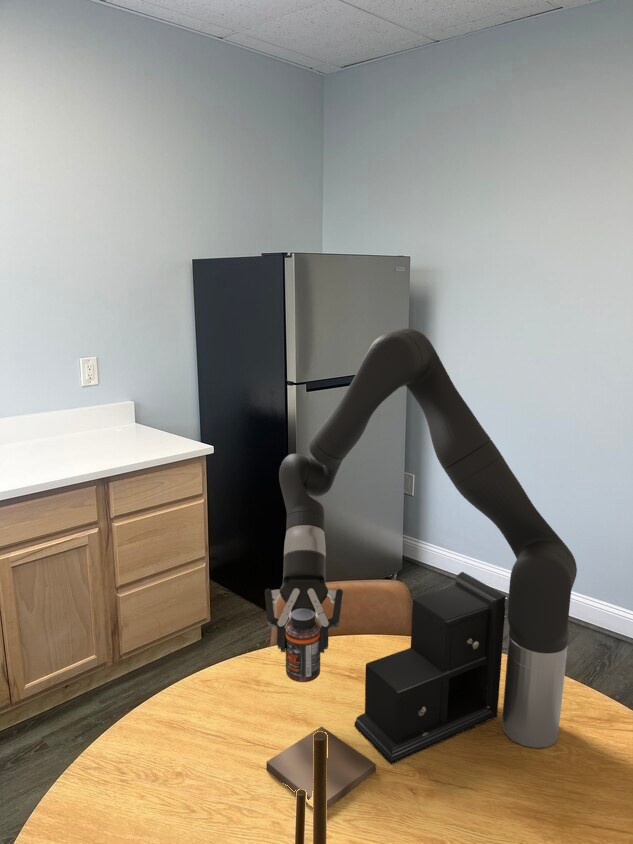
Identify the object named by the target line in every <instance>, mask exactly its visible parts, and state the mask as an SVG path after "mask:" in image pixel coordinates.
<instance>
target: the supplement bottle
mask: <svg viewBox="0 0 633 844" xmlns="http://www.w3.org/2000/svg"><path fill="white" fill-rule="evenodd" d="M315 617H316V615H315V613H314V612H313V611H312V610H309V609H297V610H295V611H293V612H292V613H291V619H290V621H289V622H288V623H287V625H286V630H285V640H286V641H285V642H286V650H285V673H286V676H287V677H288V679H290V680H291V681H294V682H297V683H309V682H313V681H314V680H316V679H317V678H318V677H319V676H320V673H321V653H320V628H321V625H320V624H319V622H317V621H316V618H315Z"/></svg>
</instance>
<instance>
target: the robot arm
mask: <svg viewBox="0 0 633 844" xmlns="http://www.w3.org/2000/svg"><path fill="white" fill-rule="evenodd" d="M402 387H406V388H407V389H408V391H409V392H410V393H411V394H412V396H413V397H414V399H415V400H416V402H417V403H418V405H419V406H420V408H421V410H422V412H423V414H424V417H425V420H426V423H427V426H428V430H429V435H430V439H431V443H432V446H433V450H434V453H435V455H436V458H437V460H438V462H439V464H440V466H441V468H442V469H443V471H444V472H445V474H446V475H447V476H448V478H449V480H450V481H451V482H452V484H453V485H454V487H455V489H456V490H457V491H458V492H459V494H460V495H461V496H462V497H463V498H464V499H466V501H467V502H468V503H469V504H471V506H473V507H474V508H475V509H477V510H478V511H479V512H480V513H482V514H483V515H484V516H485V517H486V518H488V519H489V520H490V521H491V522H492V523H493V524H494V525H495V527H496V528H497V529H498V530H499V531H500V533H501V534H502V536H503V537H504V539H505V540H506V542H507V544H508V545H509V547H510V549H511V550H512V553H513V554H514V556H515V558H516V561H515V562H514V564H513V566H512V568H511V572H510V578H509V586H508V587H509V588H508V601H507V602H508V603H507V606H508V607H507V621H508V625H509V626H508V627H509V629H508V639H507V640H508V641H507V651H506V652H507V653H506V654H507V655H506V668H505V678H504V679H505V680H504V687H503V688H504V689H503V690H504V691H503V702H502V715H501V728H502V730H503V732H504V733H505V735H506V736H507V737H508V738H509V739H510V740H512V741H513V742H515V743H517V744H519V745H522V746H524V747H529V748H534V749H541V748H547V747H551V746H552V745H554V744H555V743H557V741H558V739H559V730H560V722H561V714H562V713H561V712H562V702H563V693H564V684H565V676H566V675H565V674H566V665H567V653H568V644H569V634H570V629H569V615H570V605H571V595H572V589H573V587H574V585H575V582H576V578H577V574H578V573H577V572H578V568H577V562H576V559H575V557H574V555H573V553H572V551H571V550H570V549H569V547H568V546H567V545H566V544H565V542H564V541H563V540H562V539H561V537H560V536H559V535H558V534H557V533H556V531H555V530H554V529H553V528H552V526H551V525H550V524H549V523H548V522H547V520H546V519H545V518H544V517H543V516H542V514H541V513H540V512H539V511H538V509H537V507H535V505H534V504H533V502H532V500H531V499H530V498H529V496H528V494H527V493H526V491H525V489H524V488H523V486H522V484H521V483H520V481H519V479H518V478H517V477H516V475H515V474H514V473H513V471H512V469H511V468H510V466H509V464H508V463H507V461H506V460H505V458H504V456H503V455H502V453H501V452H500V450H499V449H498V448H497V446H496V444H495V443H494V441H493V440H492V438H491V437H490V436H489V435H488V433H487V432H486V430H485V429H484V428H483V426H482V424H481V423H480V422H479V420H478V419H477V417H476V415H475V414H474V413H473V411H472V409H471V408H470V407H469V405H468V404H467V403H466V401H465V400H464V398H463V396H462V395H461V394H460V392H459V391H458V389H457V388H456V386H455V384H454V383H453V381H452V378H451V377H450V376H449V374H448V372H447V369H446V368H445V365H444V364H443V362H442V360H441V358H440V357H439V354H438V353H437V351H436V349H435V347H434V345H433V344H432V343H431V341H430V340H429V339H428V337H427V336H426V335H424V333H422V332H420V331H419V330H417V329H414V328H401V329H397V330H394V331H392V332H387V333H385V334H382V335H380V336H378V338H376V339H375V340H374V341H373V342H372V343H371V345H370V347H369V348H368V350H367V352H366V353H365V356H364V357H363V360H362V361H361V363H360V366H359V367H358V369H357V372H356V373H355V375H354V377H353V379H352V381H351V383H350V384H349V386H348V387H347V390H346V391H345V393H344V394H343V396H342V398H341V399H340V401H339V402H338V404H337V405H336V406H335V408H334V409H333V410H332V412H331V413H330V414H329V416H327V418H326V420H325V421H324V422H323V424H322V425H321V426H320V427H319V428H318V430H317V431H316V433H314V435H313V436H312V438H311V440H310V441H309V445H308V447H309V453H310V454H311V456H312V457H313V458H312V457H309V456H306V455H303V454H300V453H290V454H288V455H287V456H286V457H284V459H283V460H282V462H281V465H280V466H279V472H278V478H279V479H278V480H279V486H280V489H281V494H282V497H283V502H284V506H285V509H286V528H285V538H284V546H283V548H284V549H283V572H282V577H283V578H282V584H281V586H280V588H279V589H271V588H265V589H264V600H265V611H266V612H265V613H266V621H267V625H268V626H269V627H270V628H271V627H273V628H275V629H277V635H276V645H277V649H278V650H279V649H280V652H281V653H286V642H285V641H286V640H285V630H286V626H287V625H288V623H289V622H290V621H291V613H292V612H293V611H295V610H297V609H309V610H312V611H313V612H314V614H315V617H316V619H317V621H318V624H319V626H320V654H325V650H328V648H329V631H330V629H332V628H333V629H334V628H337V627H339V625H340V620H341V619H340V618H341V612H342V604H343V598H344V591H343V590H342V589H341V588H338V589H337V590H334V589H329V588H328V587H327V585H326V584H327V583H326V557H327V551H326V539H325V538H326V537H325V508H324V506H323V505H322V503H320V502H319V501H317V500H316V499H314V498H313V497H322V496H324V495H326V494H327V493H329V491H330V490H331V488H332V487H333V485H334V482H335V478H336V475H337V474H338V472H339V470H340V467H341V464H342V462H343V460H344V459H345V458H346V457H347V456H348V454H349V452H351V450H353V448H354V447H355V445H356V444H357V443H358V442H359V441H360V439H361V437H362V436H363V434H364V432H365V431H366V428H367V426H368V423H369V421H370V419H371V418H372V416H373V414H374V412H375V411H376V410H377V409H378V407H380V406H381V404H382V403H383V402H384V401H385V400H387V399H388V398H389V397H390V396H391V395H392V394H393V393H395V392H396V391H398V389H399V388H402ZM279 597H281V599H282V600H283V602H284V603H285V605H284V607H283V609H282V613H281V615H280V616H279V617H278V618H277V617H275V608H274V604H276V603H277V602H278V598H279ZM328 597H329V600H330V603H332V604H333V610H332V617H330V618H328V617H327V616H326V614H325V612H324V608H323V607H322V604H323V603H324V602H325V600H326V599H327V598H328Z"/></svg>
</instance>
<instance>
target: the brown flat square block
mask: <svg viewBox="0 0 633 844" xmlns="http://www.w3.org/2000/svg"><path fill="white" fill-rule="evenodd" d="M317 731H323V732H326V733H327V735H328V758H327V810H329V809H330V808H331V807H333V806H334V805H335V804H337V803H339V801H340V800H342V799H343V798H344V797H346V796H347V795H348V794H349V793H351V792H352V791H353V790H355V789H356V788H357V787H359V786H360V785H361V784H363V783H364V782H365V781H366V780H369V778H370V777H372V776H373V775H375V773H376V771H377V763H375V762H374V761H372V760H371V759H370V758H368V757H367V756H366V755H364V754H362V752H359V750H357V749H355V748H354V747H352V746H351V745H349V744H348V743H346V742H345V741H343V740H342V739H341V738H339V737H338V736H336V735H335V734H333V733H332V732H330V731H329V730H327V729H326V728H325V727H323V726H320V727H319V728H317V729H315V730H314V731H312V732H311V733H309V734H307V735H305V737H303V738H301V739H300V740H298V741H297V742H294V744H292V745H290V746H289V747H288V748H285V749H284V750H283V751H280V753H278V754H276V755H275V756H273V757H271V758H270V759H268V760H266V768H265V769H266V771H267V772H268V771H269V774H270V775H272V776H273V777H274V776H275V777H274V778H276V779H277V780H278V781H279V782H280V781H281V783H282V784H283V783H284V784H286V785H288V786H289V787H290V788H291V789H292V790H293V791H295V790H296V791H297V790H298V789H304V790H306V792H307V799H308V800H309V799H310V798H311V797H312V791H313V734H314V733H315V732H317ZM284 784H283V785H284ZM293 791H292V792H293ZM296 791H295V793H294V795H296Z"/></svg>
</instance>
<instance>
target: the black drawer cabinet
mask: <svg viewBox="0 0 633 844" xmlns="http://www.w3.org/2000/svg"><path fill="white" fill-rule="evenodd" d="M506 597H507V596H506V595H505V594H504V593H502V592H500V591H498V590H497V589H494V588H492V587H490V586H489V585H488V584H486V583H484V582H482V581H480V580H479V579H476V578H475V577H473V576H471V575H469V574H468V573H466V572H464V571H461V572H459V574H457V575H456V577H455V584H454V585H451V586H447V587H444V588H440V589H437V590H434V591H430V592H427V593H424V594H421V595H417V596H415V597H413V598H412V604H411V605H412V606H411V629H410V630H411V631H410V632H411V633H410V647H409V648H407V649H406V648H405V649H404V650H400V651H398V652H395V653H392V654H389V655H386V656H383V657H380V658H378V659H375V660H372V661H369V662H367V663H366V664H365V676H364V678H365V680H364V681H365V686H364V713H362V714H359V715H358V716H357V717H356V719H355V721H354V728H356V730H357V731H358V732H359V733H360V734H361V735H362V736H363V737H364V738H365V739H366V740H367V741H368V742H369V743H370V745H372V746H373V748H374V749H376V751H377V752H378V753H379V754H380V755H381V756H382V757H383V758H384V759H385V760H386V761H387V762H388V763H389V764H390V765H392V764H396V763H397V762H400V761H402V760H405V759H406V758H408V757H411V756H413V755H416V754H418V753H420V752H421V751H424V750H426V749H429V748H431V747H434V746H435V745H438V744H440V743H442V742H444V741H446V740H449V739H450V738H454V737H455V736H457V735H460V734H462V733H465V732H466V731H468V730H470V729H471V730H472V729H473V728H475V727H477V726H479V725H482V724H484V723H486V722H488V721H491V720H494V719H495V718H497V717H498V712H499V711H498V710H499V698H500V697H499V696H500V686H501V670H502V657H503V643H504V642H503V641H504V627H505V614H506Z"/></svg>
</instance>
